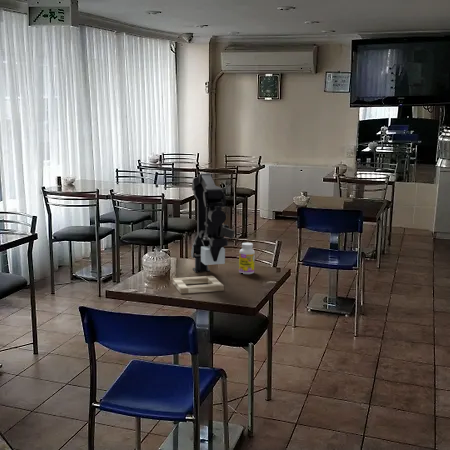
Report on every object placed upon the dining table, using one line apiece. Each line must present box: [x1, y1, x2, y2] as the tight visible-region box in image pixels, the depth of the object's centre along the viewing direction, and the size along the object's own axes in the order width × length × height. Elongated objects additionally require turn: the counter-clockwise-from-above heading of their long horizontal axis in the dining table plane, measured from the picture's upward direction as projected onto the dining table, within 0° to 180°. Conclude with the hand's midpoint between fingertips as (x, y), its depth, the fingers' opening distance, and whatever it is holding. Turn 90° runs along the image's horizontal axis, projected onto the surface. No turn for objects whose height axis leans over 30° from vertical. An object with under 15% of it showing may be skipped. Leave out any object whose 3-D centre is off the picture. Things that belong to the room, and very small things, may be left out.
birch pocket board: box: [171, 275, 225, 294], centre depth 239 cm, size 15×17×2 cm
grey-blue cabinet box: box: [201, 246, 226, 266], centre depth 238 cm, size 6×8×6 cm
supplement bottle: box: [238, 242, 256, 275], centre depth 261 cm, size 7×7×13 cm
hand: (212, 259), depth 238 cm, fingers closed on grey-blue cabinet box, 6 cm apart
